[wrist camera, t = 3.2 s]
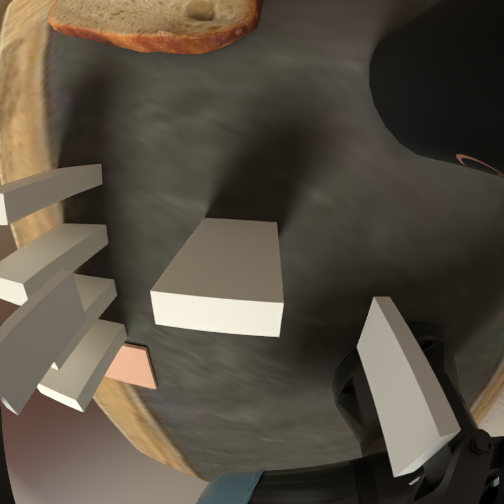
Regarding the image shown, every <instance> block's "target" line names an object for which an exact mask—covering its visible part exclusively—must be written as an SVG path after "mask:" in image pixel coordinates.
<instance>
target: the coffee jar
mask: <svg viewBox="0 0 504 504" xmlns="http://www.w3.org/2000/svg"><path fill="white" fill-rule="evenodd" d="M369 86H370V90H371V93H372V97H373V101H374V105H375V108H376V109H377V111H378V113H379V115H380V117H381V119H382V120H383V122H384V124H385V126H386V127H387V129H388V130H389V131H390V132H391V133H392V134H393V135H394V136H395V138H396V139H397V140H398V141H399V142H400V143H401V144H402V145H404V146H405V147H407V148H408V149H410V150H411V151H413V152H414V153H416V154H417V155H420V156H424V157H428V158H431V159H435V160H440V161H444V162H449V163H453V164H457V165H461V166H465V167H469V168H473V169H476V170H480V171H484V172H487V173H490V174H494V175H497V176H500V177H503V178H504V0H441V1H439V2H437V3H436V4H434V5H433V6H431V7H430V8H428V9H427V10H425V11H424V12H422V13H421V14H419V15H418V16H417V17H415V18H414V19H412V20H411V21H409V22H408V23H407V24H405V25H404V26H402V27H401V28H400V29H398V30H397V31H396V32H394V33H393V34H392V35H390V36H389V37H388V38H386V39H385V40H384V41H383V42H382V43H381V44H380V45H379V46H378V47H377V48H376V50H375V53H374V55H373V58H372V60H371V63H370V82H369Z"/></svg>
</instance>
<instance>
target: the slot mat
mask: <svg viewBox="0 0 504 504" xmlns="http://www.w3.org/2000/svg"><path fill="white" fill-rule="evenodd" d="M104 376H106V377H109V378H113V379H116V380H120V381H124V382H127V383H131V384H135V385H140V386H144V387H148V388H153V389H157V383H156V380H155V376H154V373H153V369H152V365H151V362H150V358H149V354H148V350H147V348H146V347H141V346H136V345H131V344H127V343H123V345H122V347H121V348H120V350H119V352H118V353H117V355H116V357H115V358H114V360H113V362H112V363H111V365H110V367H109V368H108V370H107V372H106V374H105V375H104Z"/></svg>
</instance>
